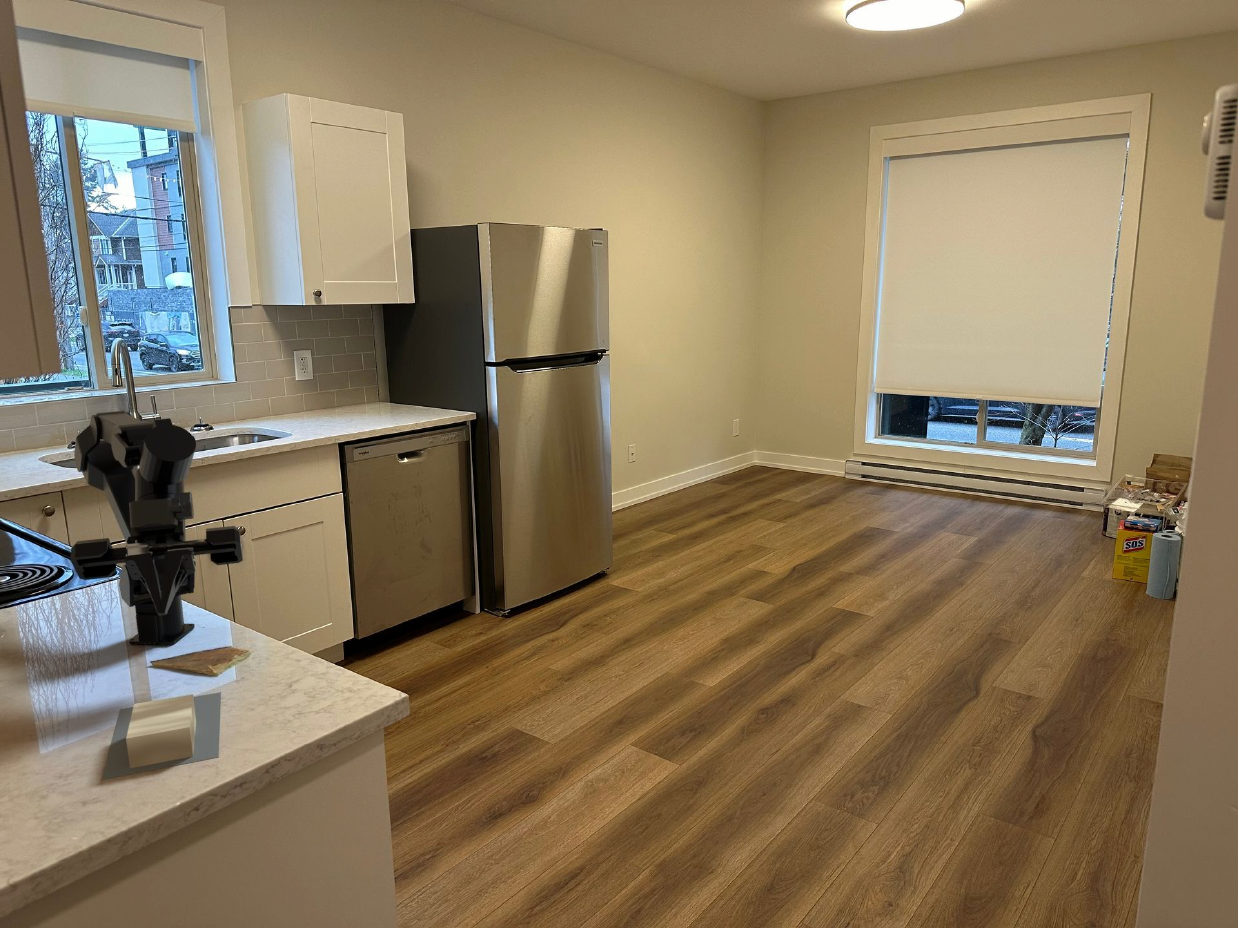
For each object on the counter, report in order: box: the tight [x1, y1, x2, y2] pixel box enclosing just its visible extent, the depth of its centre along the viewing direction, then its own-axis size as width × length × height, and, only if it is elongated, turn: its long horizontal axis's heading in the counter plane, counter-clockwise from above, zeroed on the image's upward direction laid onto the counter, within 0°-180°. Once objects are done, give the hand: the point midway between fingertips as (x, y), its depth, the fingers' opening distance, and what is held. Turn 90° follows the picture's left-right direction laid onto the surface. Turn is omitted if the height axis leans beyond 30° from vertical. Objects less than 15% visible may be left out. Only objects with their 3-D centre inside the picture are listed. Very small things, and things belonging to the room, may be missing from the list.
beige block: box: [126, 694, 196, 768], centre depth 95 cm, size 4×6×8 cm
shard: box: [149, 645, 252, 677], centre depth 116 cm, size 11×8×2 cm
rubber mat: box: [101, 691, 222, 781], centre depth 98 cm, size 16×11×1 cm
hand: (161, 613), depth 105 cm, fingers closed
